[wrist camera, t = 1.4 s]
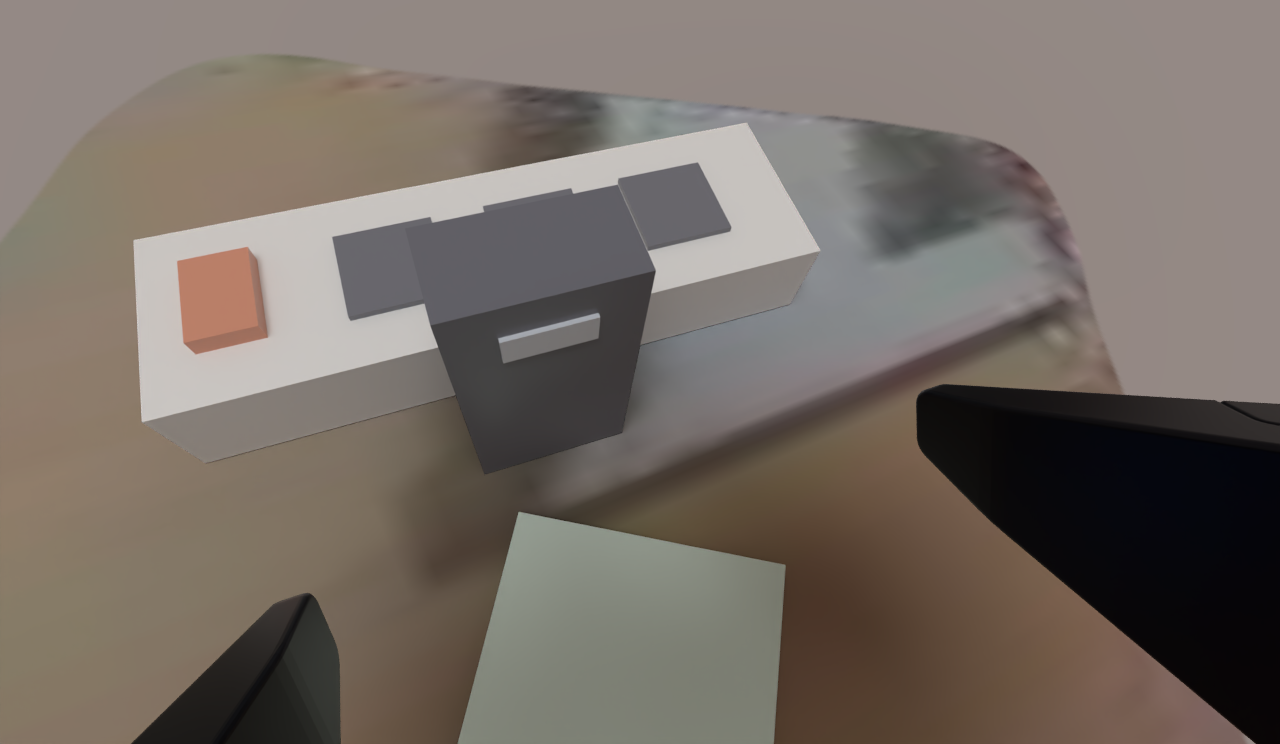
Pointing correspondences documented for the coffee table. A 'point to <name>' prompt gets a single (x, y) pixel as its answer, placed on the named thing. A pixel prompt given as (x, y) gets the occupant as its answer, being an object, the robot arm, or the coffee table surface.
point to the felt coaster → (626, 642)
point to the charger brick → (537, 319)
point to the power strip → (391, 295)
